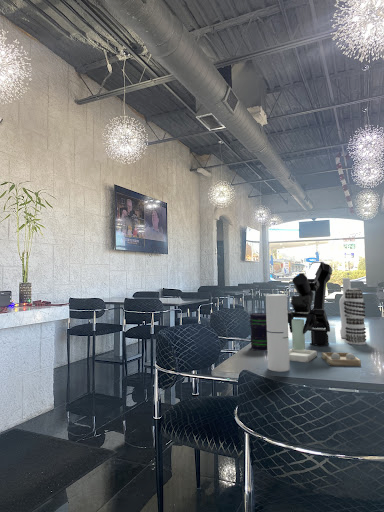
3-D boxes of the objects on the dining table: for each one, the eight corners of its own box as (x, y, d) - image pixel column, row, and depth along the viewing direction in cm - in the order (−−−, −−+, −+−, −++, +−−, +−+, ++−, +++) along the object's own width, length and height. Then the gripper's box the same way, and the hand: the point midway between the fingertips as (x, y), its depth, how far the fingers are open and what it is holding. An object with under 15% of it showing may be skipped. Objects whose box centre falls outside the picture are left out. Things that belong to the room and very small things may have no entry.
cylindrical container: (265, 366, 121) (263, 294, 123) (285, 365, 122) (282, 294, 123) (271, 371, 114) (269, 295, 116) (292, 371, 115) (290, 295, 116)
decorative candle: (341, 343, 161) (339, 288, 162) (350, 340, 167) (347, 288, 168) (362, 345, 154) (359, 289, 156) (370, 342, 160) (367, 288, 162)
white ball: (329, 361, 123) (329, 353, 123) (333, 360, 125) (333, 351, 125) (337, 363, 121) (337, 354, 121) (341, 361, 123) (341, 352, 123)
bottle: (358, 337, 176) (355, 277, 178) (358, 339, 168) (355, 277, 170) (340, 336, 179) (338, 278, 181) (340, 338, 172) (337, 278, 174)
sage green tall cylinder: (290, 347, 135) (289, 319, 136) (300, 347, 136) (299, 318, 137) (296, 350, 131) (295, 320, 131) (307, 349, 132) (306, 320, 132)
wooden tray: (322, 357, 132) (322, 352, 132) (349, 358, 131) (349, 352, 131) (330, 365, 120) (330, 359, 121) (360, 366, 119) (360, 360, 119)
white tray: (291, 353, 141) (291, 348, 141) (316, 356, 135) (316, 350, 135) (281, 359, 131) (280, 354, 131) (307, 362, 125) (307, 356, 126)
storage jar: (274, 350, 147) (273, 315, 148) (250, 350, 148) (249, 315, 149) (272, 346, 156) (271, 312, 157) (250, 345, 158) (249, 312, 159)
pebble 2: (344, 361, 122) (344, 353, 122) (348, 360, 124) (347, 351, 124) (353, 363, 120) (352, 354, 120) (356, 361, 122) (356, 353, 122)
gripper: (277, 288, 143) (267, 318, 134) (324, 288, 133) (317, 320, 123) (284, 305, 149) (276, 335, 140) (329, 307, 139) (324, 339, 129)
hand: (297, 332), depth 133 cm, fingers closed on sage green tall cylinder, 5 cm apart
